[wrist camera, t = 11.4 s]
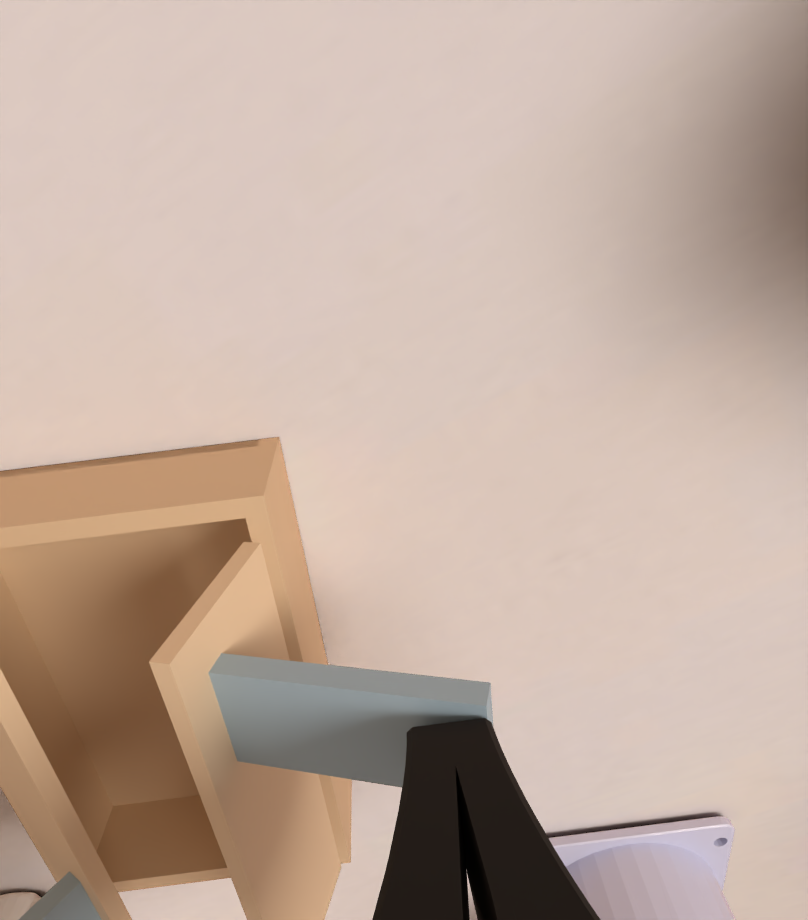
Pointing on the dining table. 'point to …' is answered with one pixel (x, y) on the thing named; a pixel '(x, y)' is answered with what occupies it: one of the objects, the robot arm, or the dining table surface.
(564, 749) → the dining table surface
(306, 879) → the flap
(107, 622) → the carton
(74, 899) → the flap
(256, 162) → the dining table surface
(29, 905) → the photo printer
